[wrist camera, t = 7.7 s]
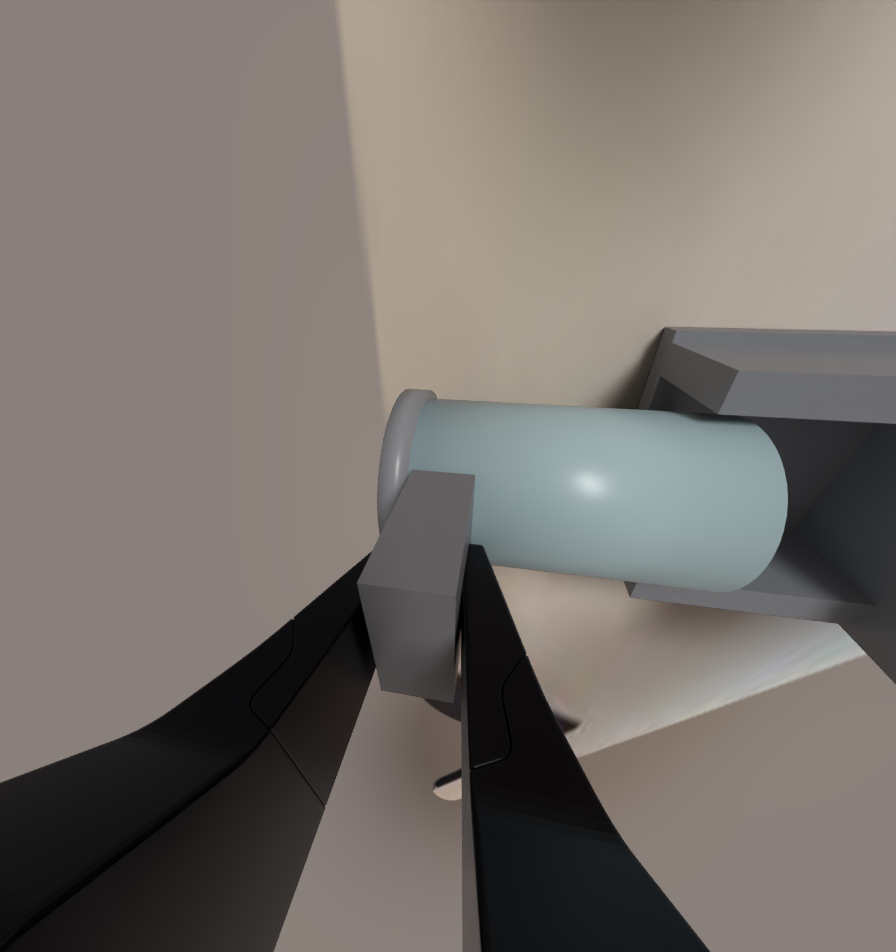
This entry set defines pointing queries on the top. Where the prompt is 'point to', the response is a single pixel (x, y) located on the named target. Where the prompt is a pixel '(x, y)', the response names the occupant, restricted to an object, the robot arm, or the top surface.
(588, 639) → the top surface
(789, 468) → the housing
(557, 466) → the cartridge
